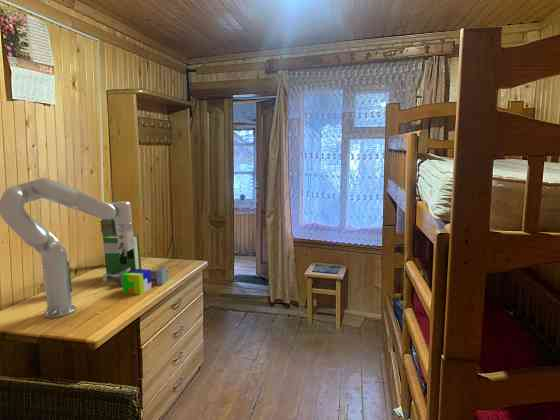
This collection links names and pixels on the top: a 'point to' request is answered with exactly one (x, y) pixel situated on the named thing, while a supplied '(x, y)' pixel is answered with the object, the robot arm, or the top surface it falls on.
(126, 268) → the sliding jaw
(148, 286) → the puzzle toy
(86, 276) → the top surface
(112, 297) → the top surface
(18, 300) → the top surface
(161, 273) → the vise body
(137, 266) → the hardback book
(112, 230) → the stone tower
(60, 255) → the robot arm
